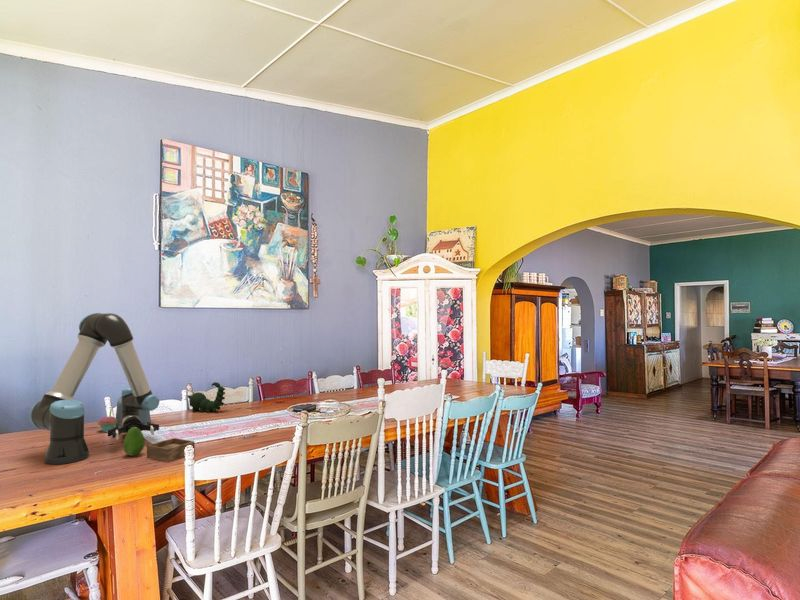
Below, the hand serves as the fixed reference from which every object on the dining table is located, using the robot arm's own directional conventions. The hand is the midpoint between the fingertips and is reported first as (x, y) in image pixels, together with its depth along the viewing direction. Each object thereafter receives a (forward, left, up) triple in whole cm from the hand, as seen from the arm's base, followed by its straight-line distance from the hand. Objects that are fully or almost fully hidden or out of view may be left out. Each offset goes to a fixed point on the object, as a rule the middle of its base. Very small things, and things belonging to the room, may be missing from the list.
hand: (135, 434), depth 214 cm
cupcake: (+16, +47, -8) cm, 50 cm away
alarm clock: (+31, +49, -8) cm, 58 cm away
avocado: (-4, -5, -8) cm, 10 cm away
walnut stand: (+3, -19, -7) cm, 21 cm away
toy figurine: (+71, +41, -8) cm, 82 cm away
